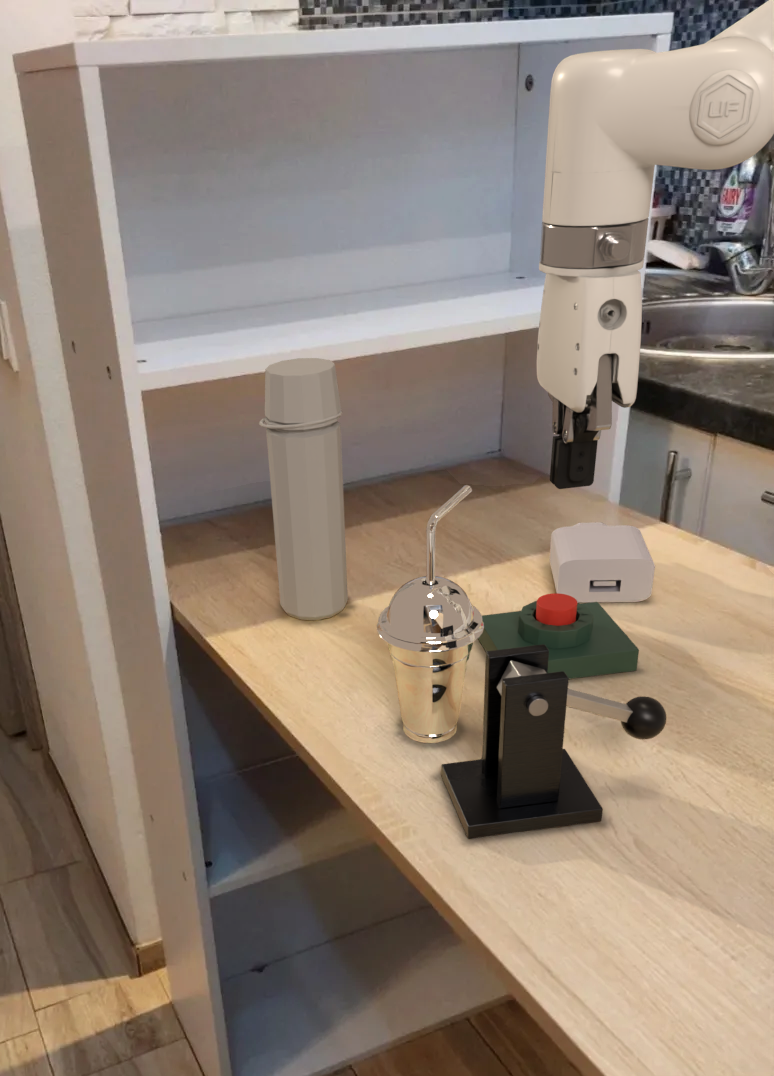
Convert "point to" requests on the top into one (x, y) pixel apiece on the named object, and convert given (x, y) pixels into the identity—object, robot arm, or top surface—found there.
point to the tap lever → (606, 706)
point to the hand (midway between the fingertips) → (571, 483)
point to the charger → (601, 563)
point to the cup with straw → (430, 643)
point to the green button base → (565, 640)
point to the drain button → (556, 609)
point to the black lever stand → (521, 755)
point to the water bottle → (307, 486)
